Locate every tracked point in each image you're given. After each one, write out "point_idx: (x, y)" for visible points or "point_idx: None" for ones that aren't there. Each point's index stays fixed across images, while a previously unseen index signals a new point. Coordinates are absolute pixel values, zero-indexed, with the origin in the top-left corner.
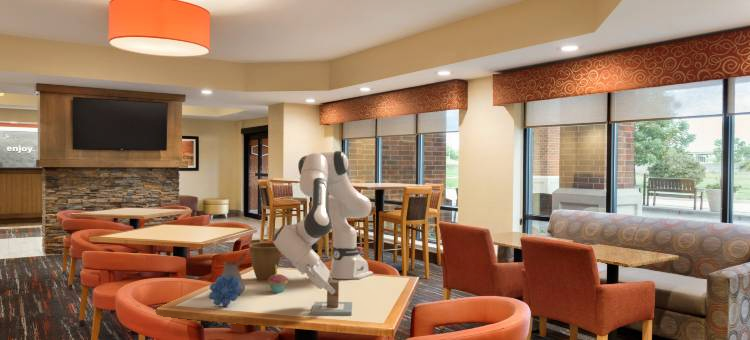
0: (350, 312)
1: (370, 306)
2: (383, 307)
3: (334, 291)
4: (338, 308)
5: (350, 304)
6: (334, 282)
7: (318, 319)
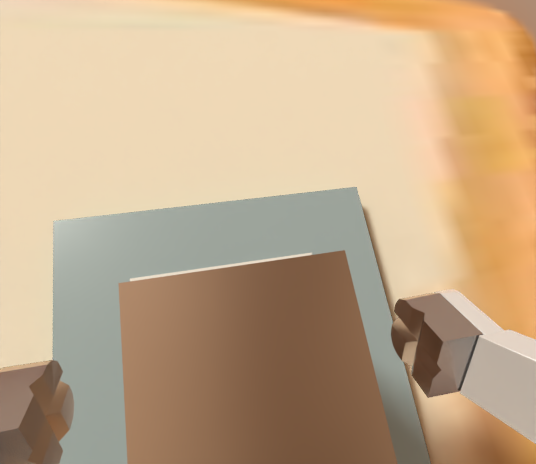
0: (356, 195)
1: (96, 103)
2: (117, 31)
3: (454, 298)
4: None
5: (143, 222)
6: (313, 338)
7: None
